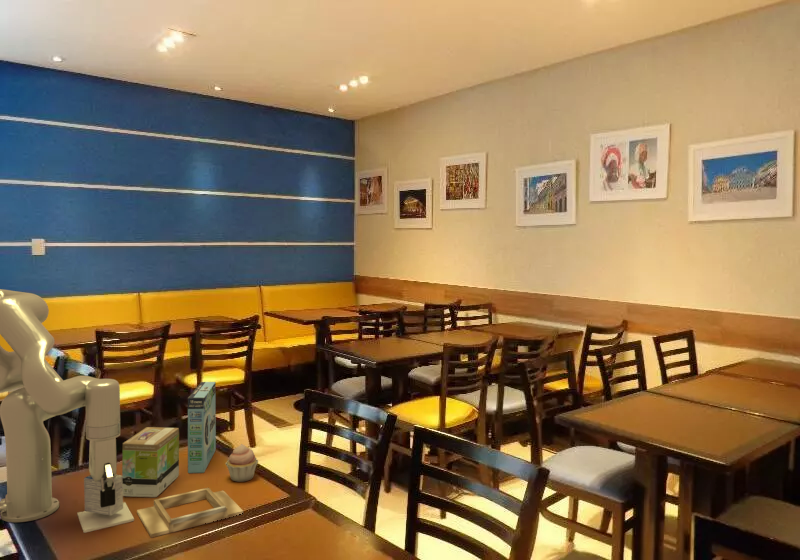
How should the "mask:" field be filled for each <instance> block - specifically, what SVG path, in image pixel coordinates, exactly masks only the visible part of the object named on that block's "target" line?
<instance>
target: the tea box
mask: <svg viewBox="0 0 800 560" xmlns="http://www.w3.org/2000/svg"><path fill="white" fill-rule="evenodd" d="M121 463H122V465H121V466H122V467H121V469H122V470H121V471H122V472H121V476H122V483H123V497H131V498H133V497H134V498H137V497H138V498H157V497H158V496H159V495H160V494H161V493H163V492H164V491H165V490H166V489H167V488H168V487H169V486H170V485H171V484H172V483H173V482H174V481H175V480H176V479H177V478H178V477H179V475H180V465H179V464H180V429H179V427H158V426H157V427H156V426H153V427H149V426H148V427H144V428H143V429H142V430H140V431H139V432H137V433H136V434H135V435H133V436H131V437H130V438H129V439H127V440H126V441H124V442H122V462H121Z"/></svg>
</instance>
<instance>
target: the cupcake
mask: <svg viewBox="0 0 800 560" xmlns="http://www.w3.org/2000/svg"><path fill="white" fill-rule="evenodd" d="M258 463H259V459H257V457H256V454H255V453H254V450H253V449H252V448H250V447H247V446H246V445H245V444H243V443H241V444H240V445H238V446H237V447H235V448H234V449H233V450H232V452H231V454H230V455H229V457H228V459H227V461H226V462H225V465H226V468H227V470H228V472H229V473H228V474H229V477H230V479H231V480H232V481H233V482H238V483H240V482H241V483H242V482H249V481H250V480H252V479H253V478H254V475H255V472H256V467H257V465H258Z"/></svg>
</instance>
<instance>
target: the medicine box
mask: <svg viewBox="0 0 800 560" xmlns="http://www.w3.org/2000/svg"><path fill="white" fill-rule="evenodd" d="M104 477H106V476H103V477H102V478H104ZM105 482H106V481H104V484H105ZM114 485H115V505H112V506H107V507H101V506H100V491H102V490H101V482H100V480H99V481H97V482H95V481H94V480H93V478H92V476H91V474H89V475H88V476H85V477H84V478H83V488H84V491H83V492H84V511H86V512H92V513H98V514H104V515H110V516H111V515H113V514H115V513H116V512H118V511H120V510H122V509H123V503H124V496H123V483H122V474H116V477H115V478H114Z"/></svg>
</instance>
